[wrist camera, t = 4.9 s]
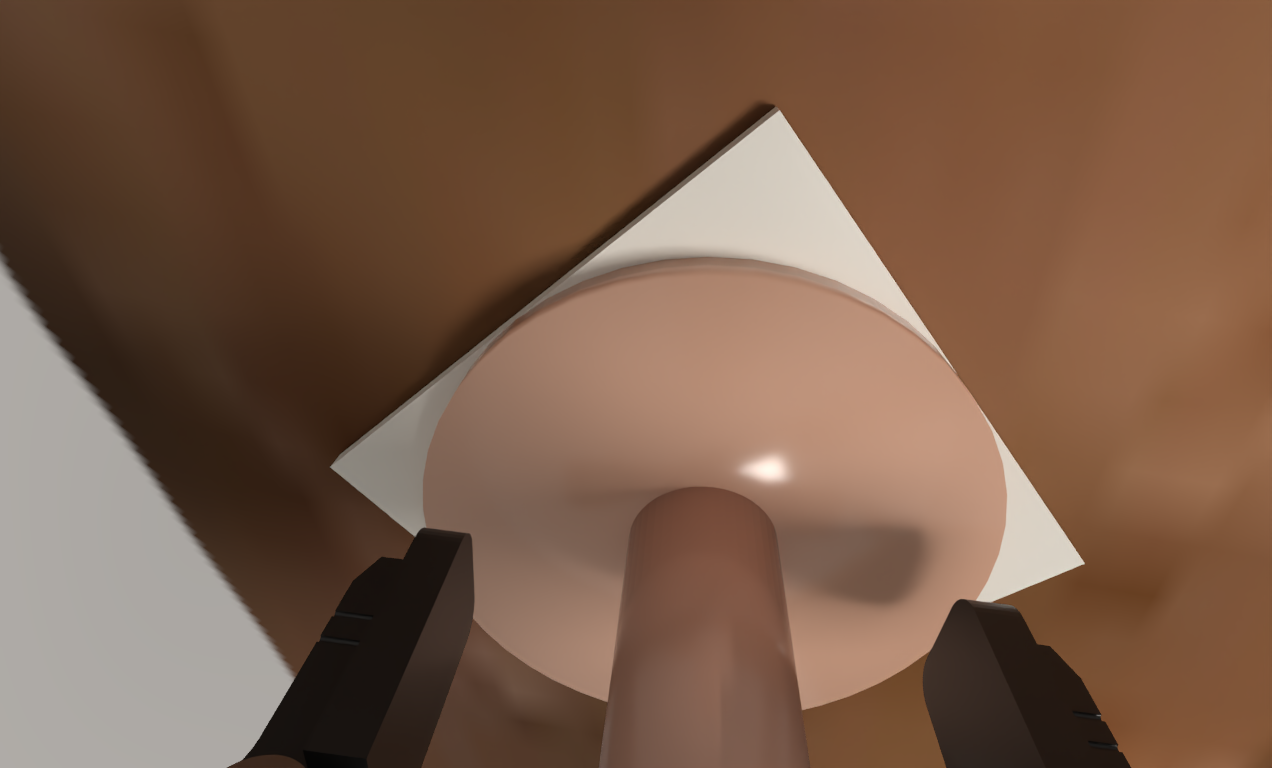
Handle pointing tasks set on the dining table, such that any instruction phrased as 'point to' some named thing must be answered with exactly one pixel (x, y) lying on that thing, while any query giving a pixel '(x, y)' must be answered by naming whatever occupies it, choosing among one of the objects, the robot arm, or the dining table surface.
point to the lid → (716, 501)
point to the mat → (728, 228)
